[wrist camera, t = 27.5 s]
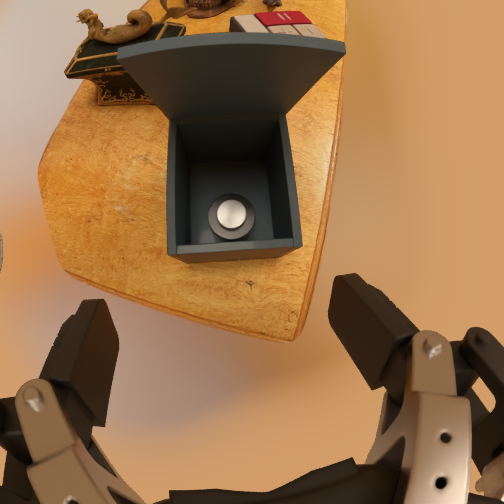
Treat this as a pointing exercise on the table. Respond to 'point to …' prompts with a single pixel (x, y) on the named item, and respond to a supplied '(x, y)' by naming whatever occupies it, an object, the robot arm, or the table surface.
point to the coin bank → (208, 7)
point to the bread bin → (231, 185)
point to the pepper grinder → (231, 218)
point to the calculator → (276, 23)
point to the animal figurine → (273, 2)
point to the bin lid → (229, 71)
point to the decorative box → (106, 47)
